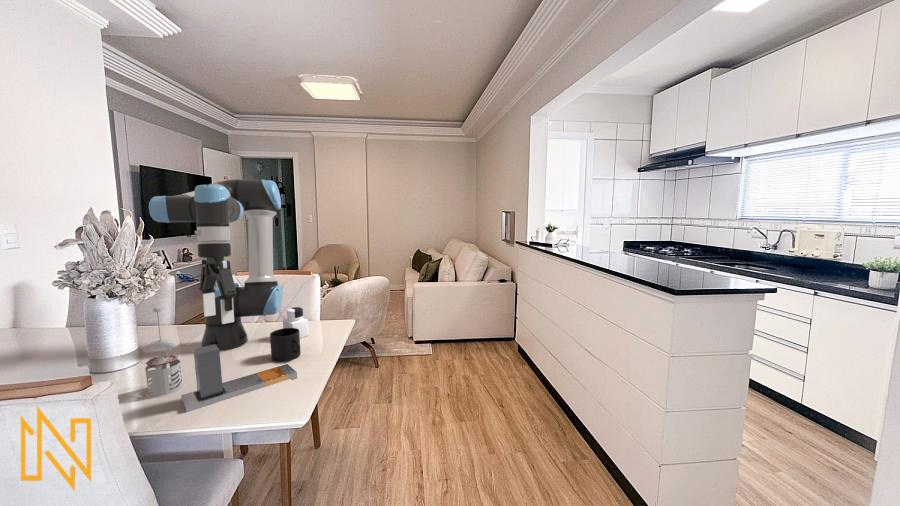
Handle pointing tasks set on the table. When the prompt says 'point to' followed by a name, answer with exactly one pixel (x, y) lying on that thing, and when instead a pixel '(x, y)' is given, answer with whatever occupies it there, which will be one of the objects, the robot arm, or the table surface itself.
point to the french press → (163, 368)
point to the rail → (241, 386)
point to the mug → (285, 344)
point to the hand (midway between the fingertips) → (218, 319)
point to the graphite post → (208, 372)
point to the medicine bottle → (296, 321)
